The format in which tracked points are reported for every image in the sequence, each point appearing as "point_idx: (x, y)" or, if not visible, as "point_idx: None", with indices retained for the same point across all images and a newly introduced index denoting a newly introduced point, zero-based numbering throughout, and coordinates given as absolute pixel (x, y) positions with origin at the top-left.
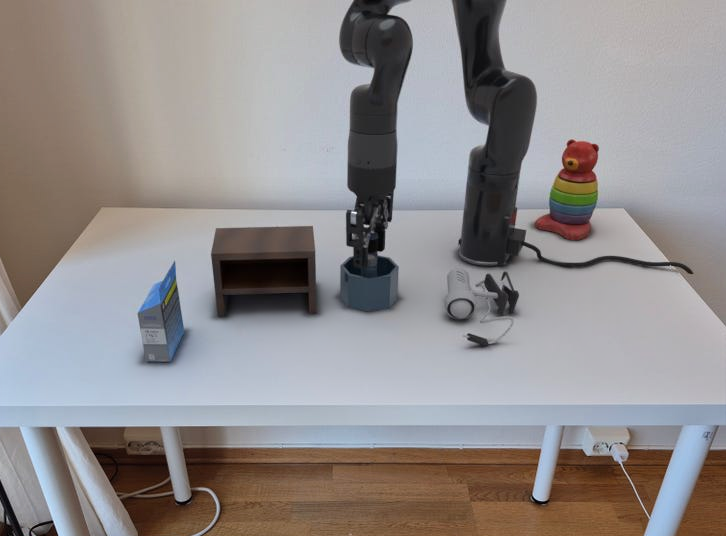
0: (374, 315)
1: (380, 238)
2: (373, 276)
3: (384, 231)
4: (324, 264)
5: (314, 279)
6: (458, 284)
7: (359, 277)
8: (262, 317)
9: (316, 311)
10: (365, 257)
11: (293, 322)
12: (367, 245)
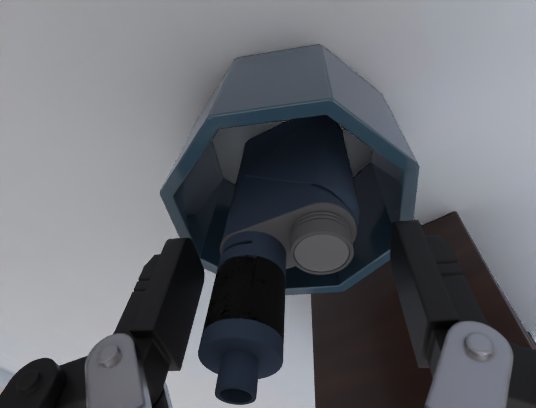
0: (397, 63)
1: (173, 300)
2: (338, 170)
3: (144, 328)
4: (201, 299)
5: (509, 307)
6: None
7: (414, 205)
8: (511, 287)
9: (456, 216)
10: (436, 268)
11: (521, 231)
12: (478, 337)
